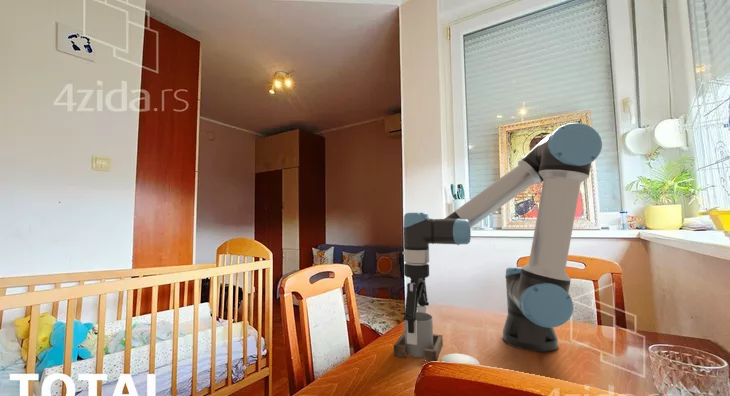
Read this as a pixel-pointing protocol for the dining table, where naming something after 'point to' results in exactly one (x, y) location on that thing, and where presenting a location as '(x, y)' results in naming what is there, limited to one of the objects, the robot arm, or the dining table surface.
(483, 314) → the dining table surface
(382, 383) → the dining table surface
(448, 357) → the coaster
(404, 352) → the pocket holder
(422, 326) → the cup
